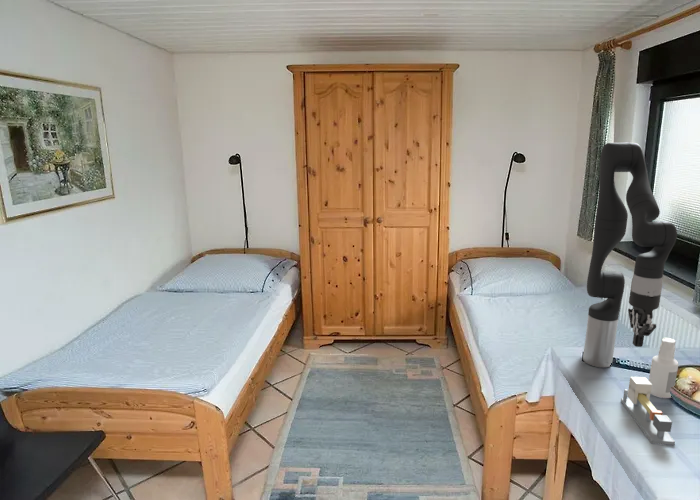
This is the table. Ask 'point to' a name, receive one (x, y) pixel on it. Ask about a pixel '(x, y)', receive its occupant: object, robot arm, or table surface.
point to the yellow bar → (655, 415)
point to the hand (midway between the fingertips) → (637, 345)
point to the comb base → (646, 422)
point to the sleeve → (638, 388)
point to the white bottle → (664, 369)
